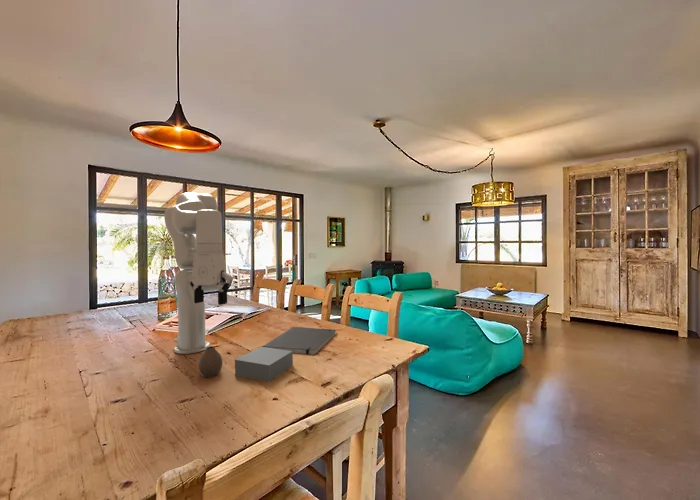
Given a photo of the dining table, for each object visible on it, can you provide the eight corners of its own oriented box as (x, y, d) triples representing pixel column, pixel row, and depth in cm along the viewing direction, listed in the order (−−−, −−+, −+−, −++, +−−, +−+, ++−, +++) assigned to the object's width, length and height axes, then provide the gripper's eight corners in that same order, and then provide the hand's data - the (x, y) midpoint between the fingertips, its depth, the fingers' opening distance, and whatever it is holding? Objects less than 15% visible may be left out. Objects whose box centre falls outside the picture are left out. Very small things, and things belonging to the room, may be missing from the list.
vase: (213, 380, 96) (213, 352, 96) (193, 378, 97) (193, 350, 97) (227, 371, 103) (226, 344, 102) (208, 369, 104) (207, 343, 104)
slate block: (235, 375, 99) (234, 359, 99) (261, 360, 112) (261, 346, 111) (269, 381, 95) (269, 365, 94) (292, 365, 107) (292, 351, 107)
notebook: (293, 331, 150) (262, 351, 122) (293, 326, 150) (262, 345, 122) (336, 334, 144) (314, 356, 117) (336, 329, 144) (314, 350, 117)
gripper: (179, 249, 99) (180, 304, 99) (222, 249, 93) (223, 307, 93) (198, 249, 106) (199, 300, 106) (239, 248, 100) (240, 302, 100)
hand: (210, 303), depth 100 cm, fingers open, 9 cm apart
